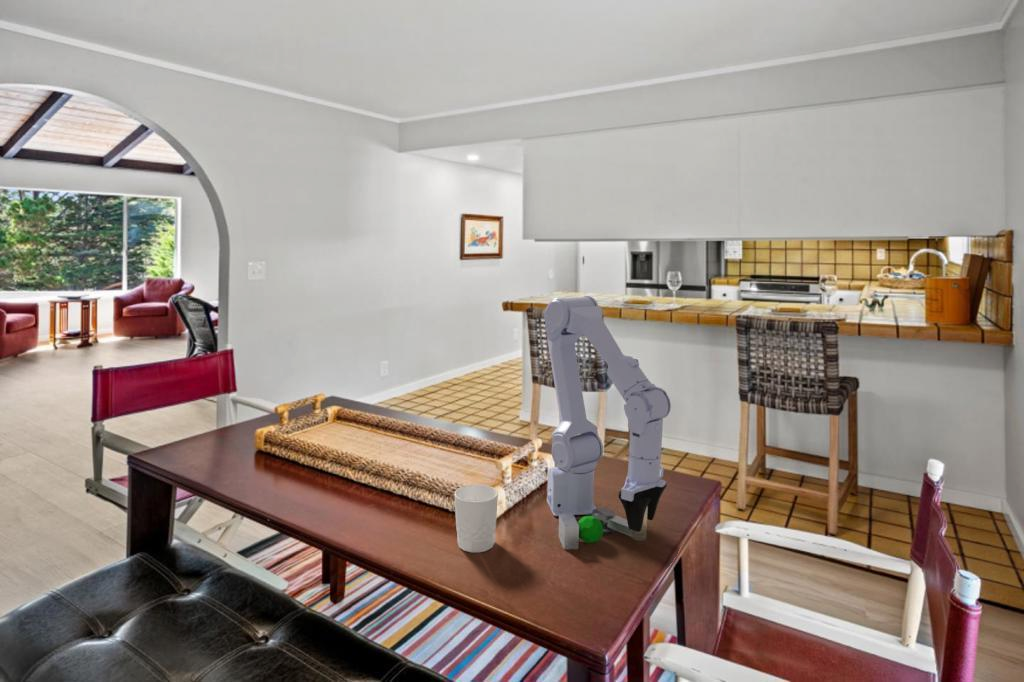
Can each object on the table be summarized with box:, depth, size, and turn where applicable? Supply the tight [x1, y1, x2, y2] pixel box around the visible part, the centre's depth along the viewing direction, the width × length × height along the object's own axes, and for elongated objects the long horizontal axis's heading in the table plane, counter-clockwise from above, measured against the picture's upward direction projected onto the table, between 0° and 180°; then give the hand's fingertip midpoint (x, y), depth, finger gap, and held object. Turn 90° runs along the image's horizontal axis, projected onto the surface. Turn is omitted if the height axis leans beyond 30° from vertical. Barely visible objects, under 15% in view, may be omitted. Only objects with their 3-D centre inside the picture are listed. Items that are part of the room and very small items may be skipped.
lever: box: [591, 505, 648, 542], centre depth 116 cm, size 12×4×6 cm, turn 46°
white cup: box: [453, 483, 499, 553], centre depth 112 cm, size 8×8×10 cm
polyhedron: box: [577, 515, 604, 544], centre depth 114 cm, size 5×5×5 cm
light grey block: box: [557, 513, 580, 550], centre depth 113 cm, size 3×5×4 cm, turn 8°
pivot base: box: [602, 528, 616, 535], centre depth 119 cm, size 5×5×1 cm
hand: (641, 524), depth 114 cm, fingers open, 5 cm apart
